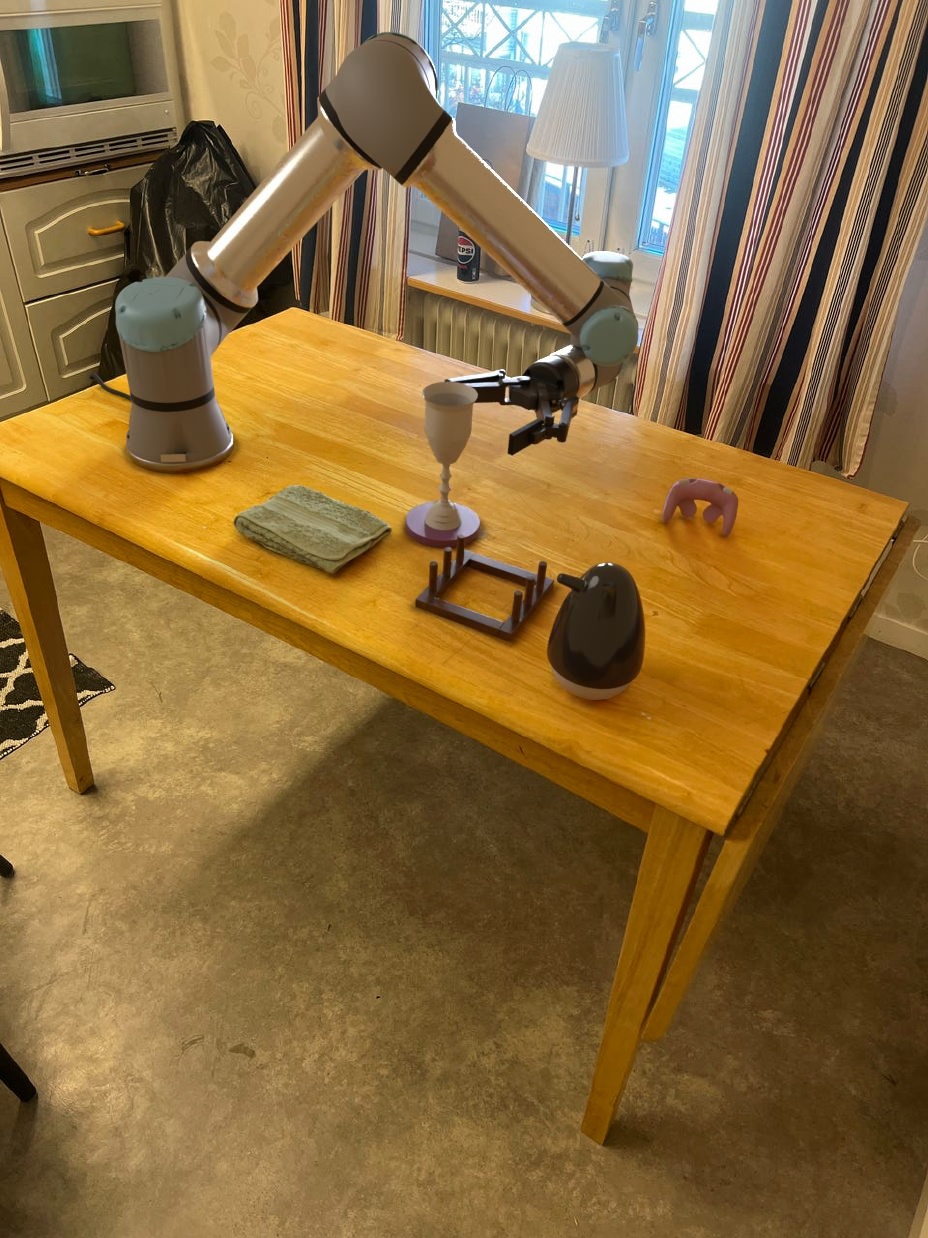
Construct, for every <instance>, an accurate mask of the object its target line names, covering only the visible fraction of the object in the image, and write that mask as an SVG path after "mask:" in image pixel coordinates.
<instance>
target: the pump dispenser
mask: <svg viewBox="0 0 928 1238" xmlns="http://www.w3.org/2000/svg"><path fill="white" fill-rule="evenodd" d="M556 582H557V583H558V584H560V585H562V586H564V587H567V588H569V589H570V590H569V591H568V593H567V595H566V596H565V598H564V600H563V601H562V603H561V606H560V607H559V609H558V612H557V613H556V616H555V618H554V621H553V623H552V627H551V630H550V633H549V637H548V641H547V648H546V657H547V660H548V663H549V665H550V668H551V672H552V674H553V676H554V679H556V681H557V683H558V684H559V685H560V686H561V687H562V688H563V689H564V690H565V691H567V692H569V693H570V694H572V695H573V696H576V697H578V698H580V699H584V700H593V701H601V700H607V699H611V698H613V697H616V696H618V695H619V694H621V693H623V692H624V691H625V690H626V689H628V687H629V686H630V685H631V684H632V683H633V681H634V680H636V678H637V677H638V676H639V674H640V673H641V671H642V668H643V664H644V661H645V660H644V659H645V649H646V619H645V612H644V607H643V602H642V598H641V594H640V591H639V588H638V585H637V583H636V581H635V578H634V577H633V575H632V574H631V572H630V571H629V570H627V569H626V567H624V566H623V565H621V564H618V563H615V562H600V563H597V564H594V565H592V566H591V567H589V568H588V569H587V570H586V571H584V572H583V574H582V575H581V576H575V575H571V574H568V573H564V572H560V573H558V574H557V577H556Z"/></svg>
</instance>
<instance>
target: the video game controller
mask: <svg viewBox="0 0 928 1238" xmlns="http://www.w3.org/2000/svg"><path fill="white" fill-rule="evenodd" d="M695 501H703V502H707V503H710V504H709V505H708V506H706V507H705V508H704V509H703V511H702V518H703V520H704V521H706V523H710V524H712V523H715V522H717V521H718V519H720V518H721V516H722V518H723V520H722V521H723V522H722V535H723V536H724V537H728V536H730V534H731V533H732V531H733V529H734V527H735V526H734V525H735V522H736V519H737V515H738V508H739V498H738V496H737V494H736V493H735V491H733V490H732V489H731V488H730V487H728V486H726V485H725V484H722V483H720V482H717V481H715V480H711V479H706V478H699V477H698V478H693V477H692V478H682V479H679V480H678V481H675V482H674V483H673V484H672V485H671V486H670V488H669V490H668V492H667V495H666V497H665V501H664V504H663V511H662V521H663V523H664V524H668V523H669V522H670V521H671V519H672V518H673V516H674V514H675V512H676V509H677V508H679V512H680V514H681V515H682V516H683V517H684V518H692V517H694V516H695V515H696V514H697V511H698V506H697V504H696V502H695Z"/></svg>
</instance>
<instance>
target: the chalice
mask: <svg viewBox="0 0 928 1238" xmlns="http://www.w3.org/2000/svg"><path fill="white" fill-rule="evenodd" d="M421 394H422V397H423V399H424V402H425V409H426V411H424V414H425V415H424V433H425V435H426V439H427V442H428V445H429V447H430V450H431V453H433V456H434V458H435V460H436V462H437V463H439V464H442V469H441V473H440V474H439V477H440V480H441V484H440V485H439V486H438V491H439V492H440V495H441V496H440V499H438V500H436V502H435V501H433V502H434V503H433V504H432V505H431V507H430V510H429V511H428V514H427V515H426V517H425V522H426V524H427V525H428V526H430V527H432V528H434V529H438V530H452V529H455V528H457V527H459V526H460V525H461V523H462V519H461V517H460V513H459V511H458V508H457V506H456V505H455V504H454V503H455V502H453V501H451V500H450V499H449V493H450V492H451V491H452V489H453V488H452V487H451V486H450V481H451V478H452V477H453V476H452V473H451V469H450V467H451V465H452V464H455V463H457V462H458V460H459V458H460V457H461V455H462V453H463V451H464V450H465V448H466V446H467V443H468V442H469V439H470V437H471V435H472V424H473V412H474V411H473V410H474V404H475V403H474V402H475V401H476V399H477V396H478V393H477V392H476V390H475V389H473V388H472V387H470V386H468V385H466V384H462V383H457V382H444V381H437V382H435V383H431V384H429V385H427V386H425V387H424V388H423V389H422V392H421Z"/></svg>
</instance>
